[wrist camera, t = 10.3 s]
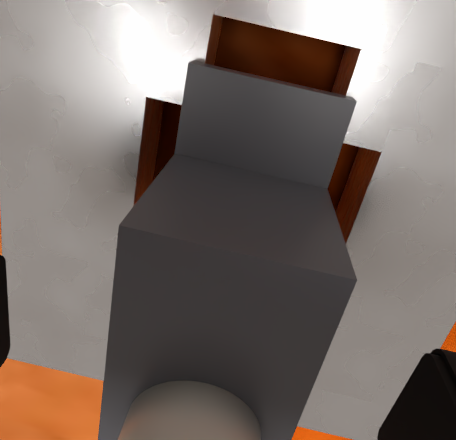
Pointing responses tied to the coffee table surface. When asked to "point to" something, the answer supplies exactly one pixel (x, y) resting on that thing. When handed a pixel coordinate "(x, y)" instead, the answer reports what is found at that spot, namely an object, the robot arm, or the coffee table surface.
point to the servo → (230, 267)
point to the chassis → (146, 160)
